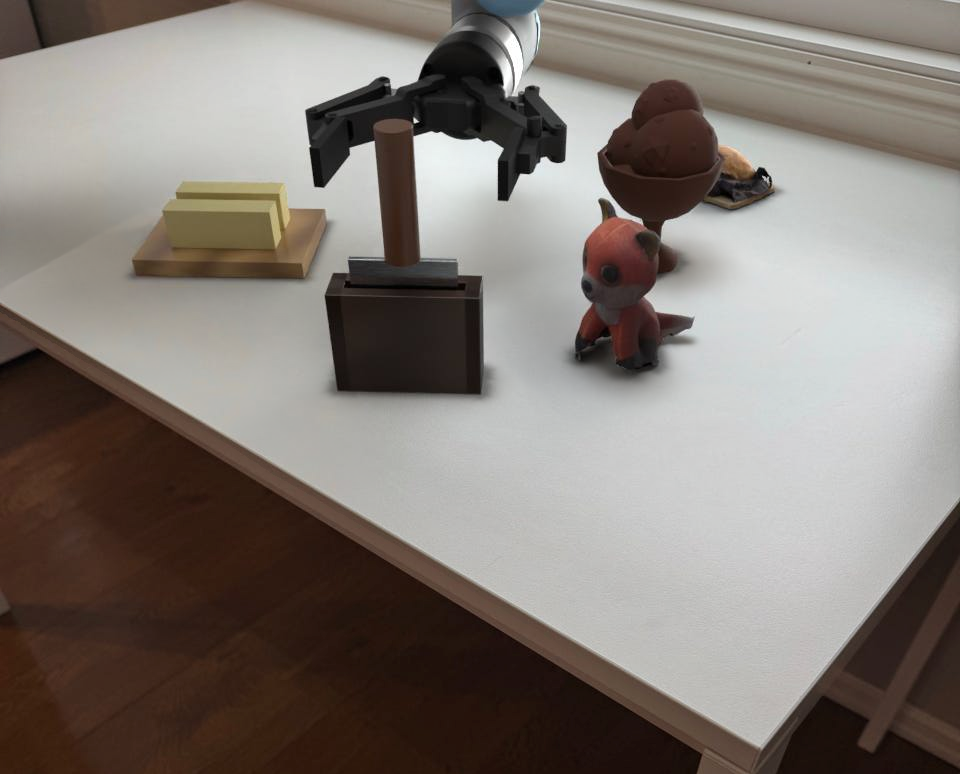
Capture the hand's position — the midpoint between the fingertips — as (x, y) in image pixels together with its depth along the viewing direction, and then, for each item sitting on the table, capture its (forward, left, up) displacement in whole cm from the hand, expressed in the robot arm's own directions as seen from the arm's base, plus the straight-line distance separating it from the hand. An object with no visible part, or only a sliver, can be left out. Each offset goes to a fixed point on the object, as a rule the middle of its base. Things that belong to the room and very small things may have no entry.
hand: (408, 174), depth 68 cm
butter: (-20, +20, -13) cm, 32 cm away
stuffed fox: (+18, +2, -15) cm, 23 cm away
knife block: (0, -3, -15) cm, 15 cm away
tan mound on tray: (+28, +37, -15) cm, 49 cm away
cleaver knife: (0, -3, -15) cm, 15 cm away
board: (-20, +20, -15) cm, 33 cm away
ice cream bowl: (+20, +19, -15) cm, 31 cm away
